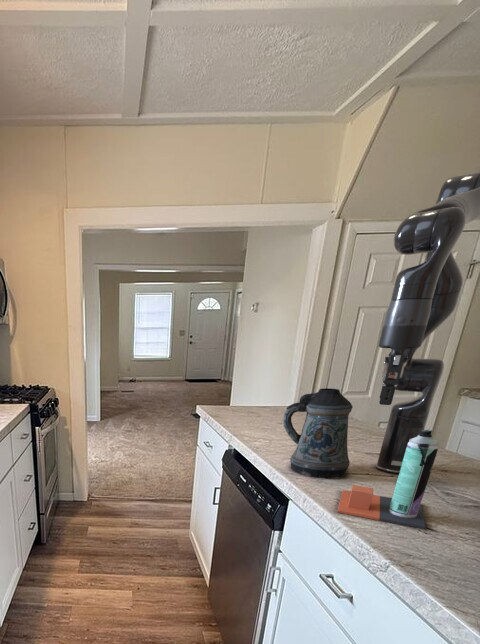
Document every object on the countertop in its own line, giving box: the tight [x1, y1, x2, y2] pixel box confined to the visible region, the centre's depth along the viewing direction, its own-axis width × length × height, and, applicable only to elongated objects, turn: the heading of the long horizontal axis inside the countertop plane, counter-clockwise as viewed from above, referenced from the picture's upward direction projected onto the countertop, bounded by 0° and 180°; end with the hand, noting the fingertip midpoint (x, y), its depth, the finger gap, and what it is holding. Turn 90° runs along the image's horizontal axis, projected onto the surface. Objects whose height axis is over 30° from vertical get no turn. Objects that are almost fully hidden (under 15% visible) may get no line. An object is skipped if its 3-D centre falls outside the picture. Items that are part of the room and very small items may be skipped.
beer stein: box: [282, 387, 354, 479], centre depth 122 cm, size 16×19×25 cm
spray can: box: [389, 429, 440, 518], centre depth 92 cm, size 6×6×20 cm
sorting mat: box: [337, 489, 426, 530], centre depth 99 cm, size 16×17×1 cm
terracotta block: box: [348, 484, 374, 510], centre depth 99 cm, size 4×4×4 cm
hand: (384, 401), depth 90 cm, fingers open, 8 cm apart
